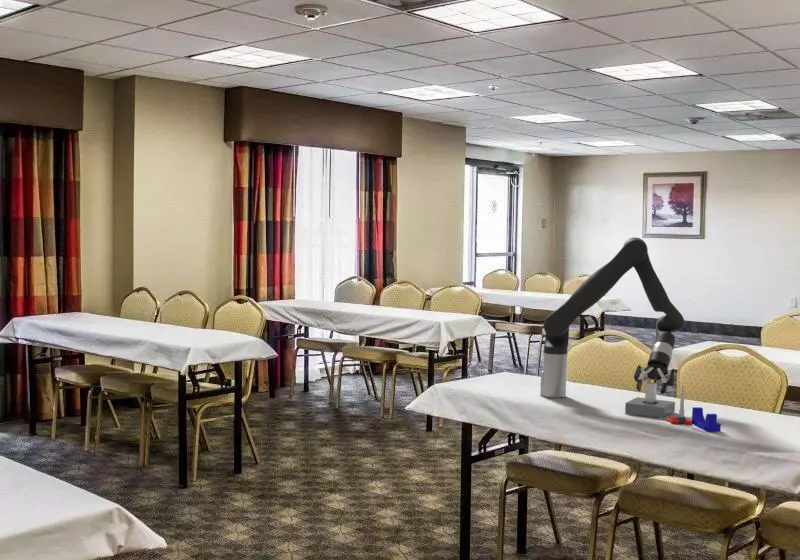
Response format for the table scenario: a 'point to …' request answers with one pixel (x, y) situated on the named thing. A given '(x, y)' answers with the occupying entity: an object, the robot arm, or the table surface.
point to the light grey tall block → (650, 393)
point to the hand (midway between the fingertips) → (650, 391)
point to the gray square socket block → (650, 408)
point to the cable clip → (705, 420)
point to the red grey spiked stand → (680, 413)
